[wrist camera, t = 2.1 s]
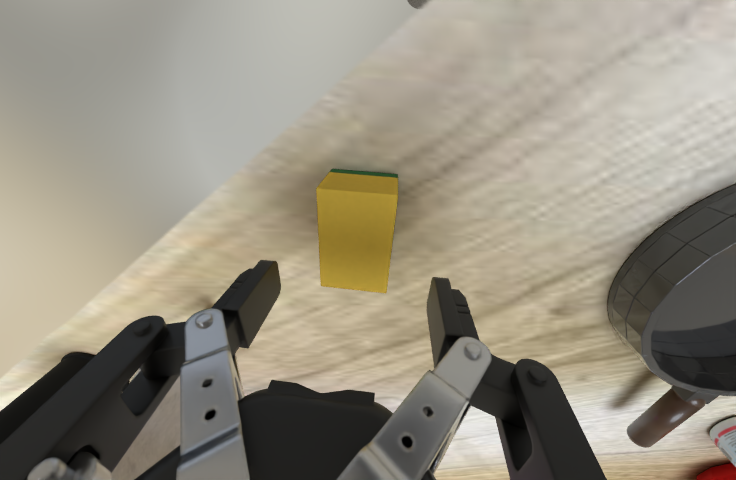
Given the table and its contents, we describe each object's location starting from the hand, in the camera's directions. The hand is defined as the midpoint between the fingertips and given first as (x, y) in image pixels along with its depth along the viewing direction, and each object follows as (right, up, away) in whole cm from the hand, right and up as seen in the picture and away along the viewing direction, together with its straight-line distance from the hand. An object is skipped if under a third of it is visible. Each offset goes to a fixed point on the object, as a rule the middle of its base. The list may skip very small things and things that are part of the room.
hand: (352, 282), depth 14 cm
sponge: (0, +4, +6) cm, 7 cm away
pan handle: (+27, -13, +10) cm, 32 cm away
